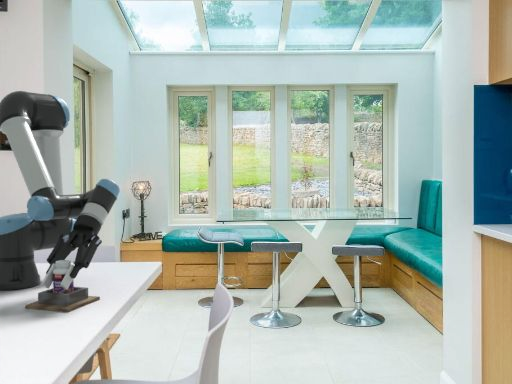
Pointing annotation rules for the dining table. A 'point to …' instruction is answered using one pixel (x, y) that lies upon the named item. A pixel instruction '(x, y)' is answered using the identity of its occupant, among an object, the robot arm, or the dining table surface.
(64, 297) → the square framed tray
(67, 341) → the dining table surface
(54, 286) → the pill bottle
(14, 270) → the robot arm
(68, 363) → the dining table surface
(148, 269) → the dining table surface
